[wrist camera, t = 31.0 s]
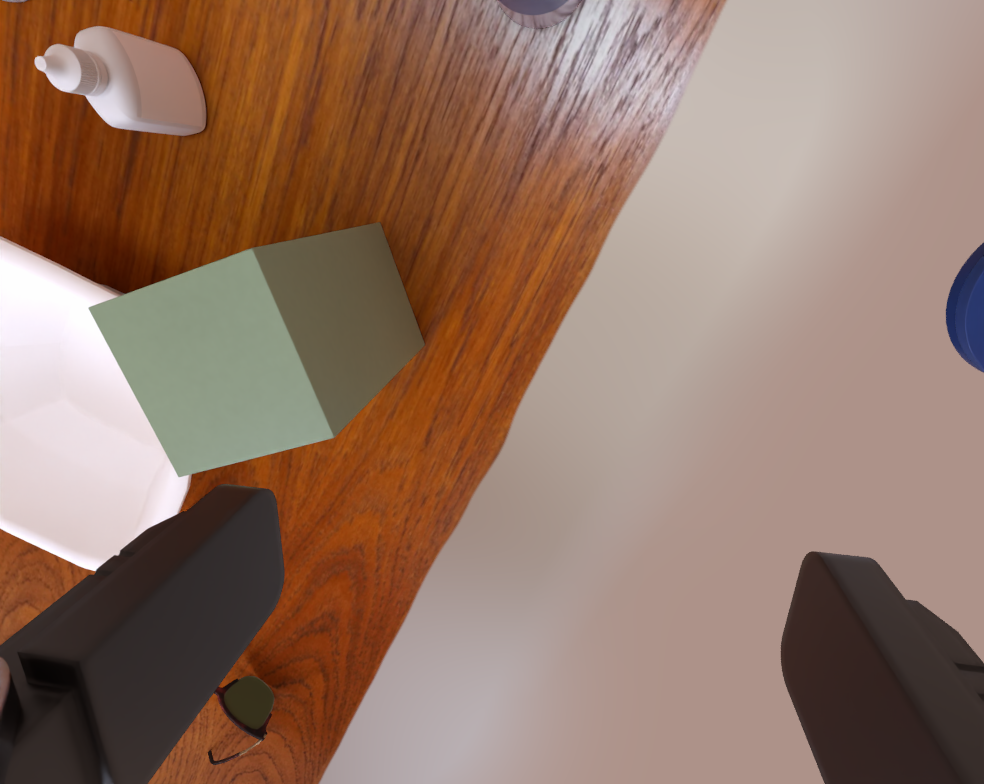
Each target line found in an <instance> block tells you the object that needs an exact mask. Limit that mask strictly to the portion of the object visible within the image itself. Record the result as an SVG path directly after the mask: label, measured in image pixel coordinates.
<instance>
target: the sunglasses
mask: <svg viewBox="0 0 984 784" xmlns="http://www.w3.org/2000/svg"><path fill="white" fill-rule="evenodd" d="M214 694H216V695H217V696H218V700H219V704H220V706H221V708H222V710H223V711H224V713H225V714H226V716H227V717H228V718H229V719H230V720H231V721H232V722H233V723H234V724H235V725H236V726H237V727H239V728H240V729H241V730H243V731H244V732H246V733H247V734H249V735H251V736H253V737H255V738H257V739H259V740H258V741H257V742H256V743H255V744H254V745H252V746H251V747H249V748H248V749H246V750H244V751H242V752H239V753H237V754H235V755H233V756H231V757H228V758H226V759H223V760H219V761H214V760H213V756H212V752H211V750H210V751H209V752H208V755H209V759H210V762H211V763H212V764H213V765H217V764H221V763H224V762H227V761H229V760H232V759H234V758H236V757H238V756H240V755H242V754H243V753H245V752H247V751H248V750H250V749H251V748H253V747H254V746H256V745H257V744H259V743H260V742H261V741H263V740H264V739H265V736H266V735H267V732H266V726H267V724H268V722H269V720H270V718H271V715H272V714H271V713H270V712H271V710H272V708H273V704H274V694H273V692H272V690H271V689H270V688H269V686H268V685H267V684H266V683H265V682H263V681H262V680H261V679H259V678H257V677H254V676H246V677H243V678H241V679H239V680H238V679H236V680H234V681H232V682H231V683H229V684H228V685H226V686H225V687H223V688H220V687H217V689H216V690H215V691H214Z"/></svg>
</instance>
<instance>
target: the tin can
mask: <svg viewBox="0 0 984 784" xmlns="http://www.w3.org/2000/svg"><path fill="white" fill-rule="evenodd" d="M496 1H497V3H498V4H499V6H500V8H501V9H502V10H503V12H504V13H505V14H506V15H507V16H508V17H509V18H510V19H511V20H513V21H514V22H516V23H517V24H519V25H521V26H524V27H528V28H533V29H541V28H547V27H551V26H554V25H556V24H558V23H560V22H562V21H563V20H565V19H566V18H567V17H568V16H570V15H571V14H572V13H573V12H574V11H575V9H576V8H577V7H578V5H579V4H580V3H581V1H582V0H496Z"/></svg>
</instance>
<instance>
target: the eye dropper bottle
mask: <svg viewBox="0 0 984 784" xmlns="http://www.w3.org/2000/svg"><path fill="white" fill-rule="evenodd" d="M35 65H36V67H37V68H38V69H39V70H41V71H43V72H45V73H46V75H47V77H48V79H49V81H50V82H51V83H52V84H53V85H54V86H55V87H56V88H58V89H60V90H61V91H64V92H69V93H75V94H80V95H85V96H86V98H87V99H88V101H89V102H90V104H91V105H92V107H93V108H94V109H95V110H96V112H97V113H98V114H99V115H100V116H101V118H102V119H103V120H104V121H105V122H106V123H108V124H109V125H111V126H112V127H115V128H121V129H128V130H136V131H144V132H153V133H161V134H170V135H179V136H187V135H191V134H196V133H199V132H201V131H203V130H204V128H205V126H206V105H205V99H204V94H203V90H202V87H201V84H200V82H199V79H198V77H197V75H196V73H195V71H194V69H193V67H192V66H191V64H190V62H189V61H188V59H187V58H186V57H185V55H184V54H183V53H182V52H180V51H179V50H178V49H175V48H172V47H169V46H166V45H163V44H160V43H157V42H154V41H151V40H148V39H145V38H141V37H138V36H135V35H132V34H129V33H126V32H122V31H119V30H116V29H112V28H109V27H103V26H95V27H91V28H87V29H84V30H82V31H80V32H79V33H78V34H77V35H76V38H75V42H74V47H70V46H66V45H62V44H55V45H52V46H50V47H49V48H48V49H47V51H46V52H45V55H44V56H38V57H36V58H35Z"/></svg>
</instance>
